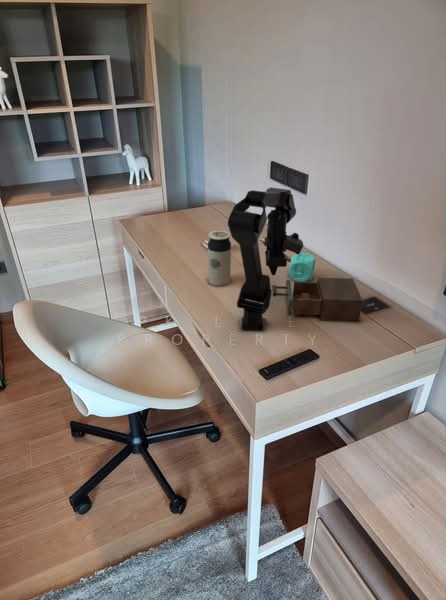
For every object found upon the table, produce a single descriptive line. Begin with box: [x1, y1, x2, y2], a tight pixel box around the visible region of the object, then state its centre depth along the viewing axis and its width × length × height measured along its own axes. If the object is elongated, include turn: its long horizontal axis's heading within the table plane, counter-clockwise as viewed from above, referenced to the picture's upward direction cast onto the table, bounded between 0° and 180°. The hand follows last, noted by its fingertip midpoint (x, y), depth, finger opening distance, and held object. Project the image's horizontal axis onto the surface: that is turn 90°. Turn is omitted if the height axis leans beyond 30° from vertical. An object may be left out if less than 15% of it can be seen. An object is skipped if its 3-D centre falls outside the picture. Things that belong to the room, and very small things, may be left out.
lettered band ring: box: [202, 240, 235, 249], centre depth 179 cm, size 18×10×6 cm, turn 27°
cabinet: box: [316, 277, 364, 323], centre depth 137 cm, size 12×15×8 cm
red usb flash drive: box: [300, 293, 310, 299], centre depth 137 cm, size 9×2×3 cm, turn 177°
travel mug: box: [207, 230, 232, 286], centre depth 151 cm, size 8×8×18 cm
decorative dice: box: [288, 252, 316, 282], centre depth 156 cm, size 8×8×8 cm
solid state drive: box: [361, 296, 390, 315], centre depth 141 cm, size 7×10×1 cm
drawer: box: [271, 279, 323, 317], centre depth 137 cm, size 15×13×6 cm
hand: (273, 274), depth 139 cm, fingers closed
